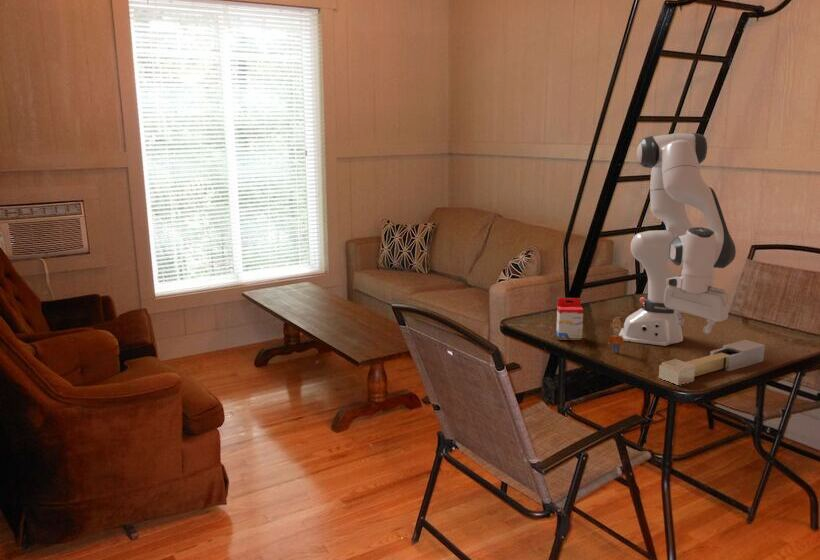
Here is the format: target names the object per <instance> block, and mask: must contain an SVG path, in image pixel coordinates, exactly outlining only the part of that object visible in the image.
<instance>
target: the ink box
mask: <svg viewBox="0 0 820 560" xmlns="http://www.w3.org/2000/svg"><path fill="white" fill-rule="evenodd" d="M569 301H570V302H569ZM581 301H582V300H581V298H580V297H558V299H557V308H556V330H555V331H556V334H557V336H558V337H559V338H582V339H583V326H584V325H583V323H584V308H583V307H582V306H581ZM556 334H555V335H556Z"/></svg>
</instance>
